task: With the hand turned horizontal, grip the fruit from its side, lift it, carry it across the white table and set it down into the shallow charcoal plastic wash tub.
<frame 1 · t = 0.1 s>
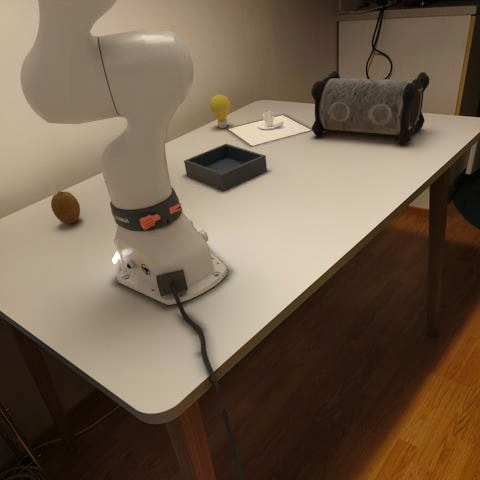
tub: (226, 173, 122), on the table
light bulb: (223, 127, 153), on the table
fruit: (72, 223, 110), on the table
teacup and saucer: (268, 130, 145), on the table
speaker: (366, 134, 132), on the table
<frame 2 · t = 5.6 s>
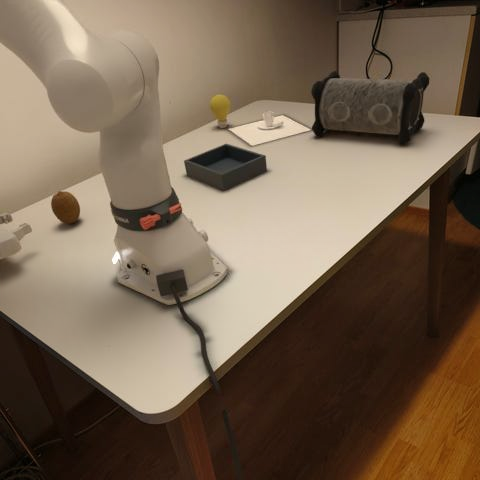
hand: (19, 221, 101), 6 cm above the table, tool horizontal, fingers open, 8 cm apart
nothing on the table moved.
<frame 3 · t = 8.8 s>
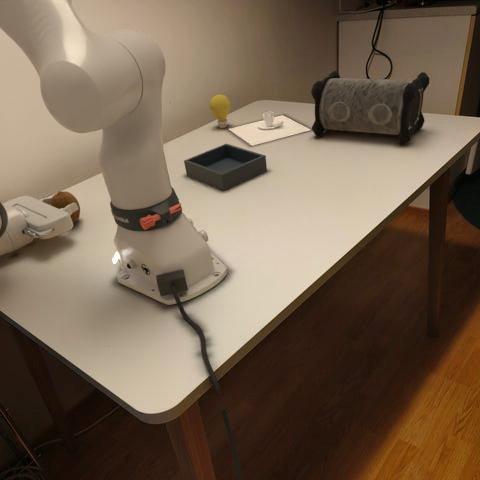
hand: (67, 201, 107), 5 cm above the table, tool horizontal, fingers closed on fruit, 6 cm apart
fruit: (72, 223, 110), on the table, touching gripper
everything else where it was.
when the fingers open (6 cm above the table, at t = 20.5 s): fruit stays where it is, resting on tub.
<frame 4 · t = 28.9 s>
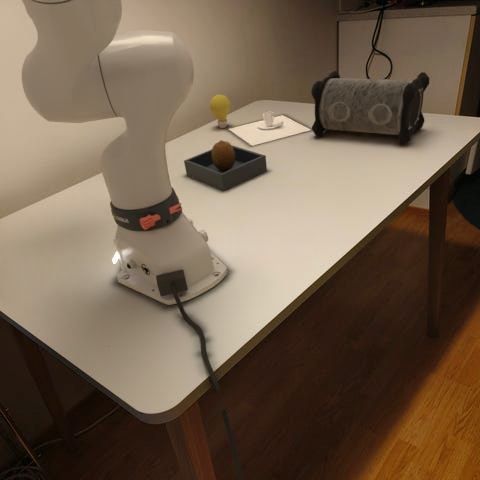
hand: (69, 44, 93), 35 cm above the table, tool pointing down, fingers open, 8 cm apart
fruit: (225, 171, 122), resting on tub
everything else where it was.
at the end: fruit inside the target area in the tub (0.2 cm from its centre), point 0.4 cm above the tub's base; the gripper is holding nothing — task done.
